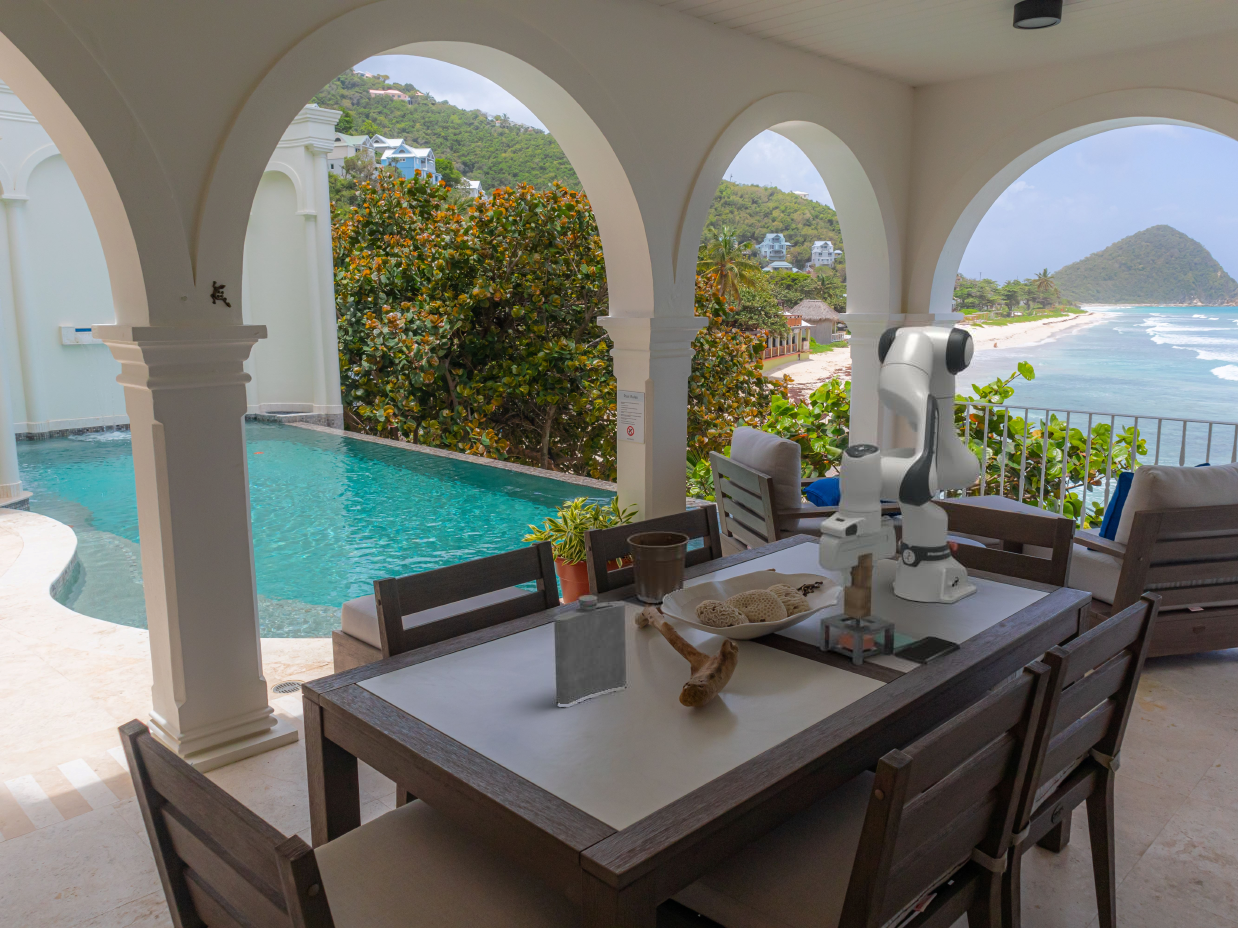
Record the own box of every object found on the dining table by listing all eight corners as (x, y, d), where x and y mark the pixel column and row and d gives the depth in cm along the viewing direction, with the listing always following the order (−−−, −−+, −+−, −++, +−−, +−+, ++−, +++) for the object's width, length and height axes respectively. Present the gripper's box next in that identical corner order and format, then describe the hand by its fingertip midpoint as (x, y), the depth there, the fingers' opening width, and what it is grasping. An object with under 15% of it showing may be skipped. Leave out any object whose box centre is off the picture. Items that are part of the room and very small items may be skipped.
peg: (856, 610, 194) (858, 549, 192) (870, 615, 191) (872, 553, 189) (843, 613, 192) (845, 552, 190) (857, 619, 189) (859, 556, 186)
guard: (855, 639, 200) (855, 609, 199) (893, 653, 191) (894, 623, 190) (819, 649, 194) (820, 618, 193) (857, 665, 185) (858, 633, 184)
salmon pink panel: (855, 639, 196) (856, 630, 196) (873, 646, 192) (874, 637, 191) (839, 644, 193) (839, 635, 193) (857, 651, 189) (857, 641, 188)
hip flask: (562, 709, 166) (559, 608, 163) (551, 702, 170) (547, 603, 167) (629, 687, 176) (627, 591, 173) (617, 681, 179) (615, 586, 176)
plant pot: (616, 601, 230) (615, 541, 228) (647, 585, 244) (646, 528, 241) (671, 611, 222) (670, 549, 219) (700, 593, 235) (699, 535, 233)
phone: (962, 644, 194) (925, 662, 184) (961, 649, 194) (925, 667, 184) (929, 635, 200) (892, 651, 190) (929, 640, 200) (892, 656, 190)
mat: (890, 632, 204) (890, 630, 204) (918, 642, 197) (918, 640, 197) (866, 639, 200) (866, 637, 200) (894, 649, 193) (894, 647, 193)
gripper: (881, 511, 196) (879, 571, 198) (814, 525, 185) (813, 587, 188) (904, 516, 191) (902, 578, 193) (836, 531, 180) (835, 595, 183)
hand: (857, 583), depth 190 cm, fingers closed on peg, 4 cm apart
